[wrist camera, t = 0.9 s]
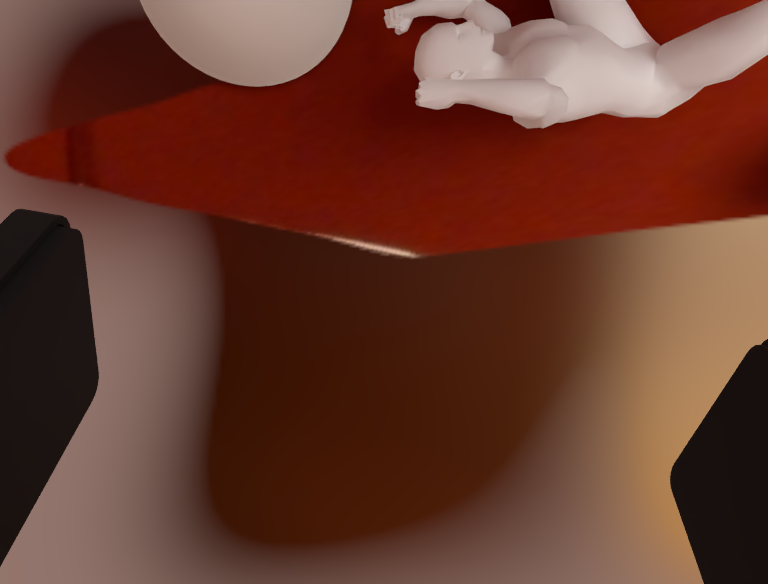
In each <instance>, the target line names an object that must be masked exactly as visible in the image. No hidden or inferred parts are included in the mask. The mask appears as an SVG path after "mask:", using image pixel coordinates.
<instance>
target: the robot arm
mask: <svg viewBox="0 0 768 584" xmlns="http://www.w3.org/2000/svg"><path fill="white" fill-rule="evenodd" d="M98 379H99V372H98V364H97V355H96V347H95V338H94V329H93V321H92V312H91V304H90V295H89V288H88V278H87V270H86V261H85V253H84V244H83V239H82V234H81V233H80V231H79V230H77V229H72V228H70V224H69V222H68V220H67V218H65V217H63V216H60V215H54V214H48V213H43V212H37V211H31V210H25V209H17V210H15V211H14V212H12V213H11V214H10V215H9V216H8V217H7V218H6V219H5V220H4V221H3V222H2V223H1V224H0V566H1V564H2V562H3V561H4V559H5V557H6V555H7V554H8V552H9V550H10V548H11V546H12V545H13V543H14V541H15V539H16V537H17V536H18V534H19V532H20V530H21V528H22V526H23V525H24V523H25V521H26V519H27V517H28V516H29V514H30V512H31V510H32V509H33V507H34V505H35V503H36V501H37V499H38V498H39V496H40V494H41V492H42V491H43V488H44V487H45V485H46V483H47V482H48V480H49V478H50V476H51V474H52V473H53V471H54V469H55V467H56V465H57V464H58V462H59V460H60V458H61V456H62V455H63V453H64V451H65V449H66V447H67V445H68V444H69V442H70V440H71V438H72V436H73V435H74V433H75V431H76V429H77V427H78V426H79V424H80V422H81V420H82V419H83V417H84V415H85V413H86V411H87V410H88V408H89V406H90V404H91V402H92V400H93V398H94V396H95V393H96V390H97V386H98ZM670 484H671V489H672V492H673V495H674V498H675V501H676V504H677V507H678V510H679V513H680V516H681V519H682V522H683V524H684V527H685V530H686V533H687V536H688V539H689V542H690V545H691V547H692V550H693V553H694V556H695V559H696V562H697V565H698V567H699V570H700V573H701V576H702V579H703V582H704V584H768V339H767V340H765V341H764V342H763V343H762V344H761V345H755V346H754V347H752V348H751V349H750V350H749V351H748V353H747V354H746V356H745V357H744V359H743V360H742V362H741V363H740V365H739V366H738V368H737V369H736V371H735V372H734V374H733V375H732V377H731V378H730V380H729V381H728V383H727V384H726V386H725V388H724V389H723V390H722V392H721V393H720V395H719V396H718V398H717V400H716V401H715V403H714V404H713V406H712V407H711V409H710V410H709V412H708V413H707V415H706V416H705V418H704V419H703V421H702V423H701V424H700V425H699V427H698V428H697V430H696V431H695V433H694V434H693V436H692V437H691V439H690V440H689V442H688V444H687V445H686V446H685V448H684V449H683V451H682V453H681V454H680V456H679V457H678V459H677V460H676V462H675V463H674V465H673V467H672V471H671V476H670Z"/></svg>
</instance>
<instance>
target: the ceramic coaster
mask: <svg viewBox="0 0 768 584" xmlns="http://www.w3.org/2000/svg"><path fill="white" fill-rule="evenodd" d="M352 1H353V0H140V2H141V4H142V6H143V9H144V11H145V13H146V14H147V16H148V18H149V20H150V22H151V23H152V25H153V26H154V28H155V29H156V31H157V32H158V33H159V35H160V36H161V37H162V38H163V40H164V41H165V42H166V43H167V44H168V45H169V46H170V47H171V48H172V49H173V50H174V51H175V52H176V53H177V54H178V55H179V56H180V57H182V58H183V59H184V60H185V61H187V62H188V63H189V64H191V65H192V66H193V67H195V68H197V69H198V70H200V71H202V72H204V73H205V74H208V75H210V76H212V77H214V78H217V79H219V80H222V81H225V82H228V83H232V84H237V85H243V86H256V87H260V86H272V85H276V84H281V83H285V82H288V81H290V80H293V79H296V78H298V77H299V76H301V75H303V74H305V73H307V72H308V71H310V70H311V69H312V68H314V67H315V66H316V65H318V64H319V63H320V62H321V61H322V60H323V59H324V58H325V57H326V56H327V55H328V53H329V52H330V51H331V49H332V48H333V47H334V45H335V44H336V42H337V40H338V39H339V37H340V35H341V33H342V31H343V29H344V26H345V23H346V21H347V18H348V16H349V13H350V9H351V5H352Z"/></svg>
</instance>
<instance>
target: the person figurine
mask: <svg viewBox="0 0 768 584" xmlns="http://www.w3.org/2000/svg"><path fill="white" fill-rule="evenodd" d="M549 1H550V4H551V7H552V11H553V14H554V17H555V19H552V18H551V19H540V20H530V21H528V22H525V23H522V24H519V25H516V26H513V27H511V23H510V19H509V18H508V17H507V16H506V15H505V14H504V13H503V12H502V11H501V10H500V9H498V8H496V7H495V6H493V5H491V4H490V3H488V2H486V1H485V0H416V1H414V2H411V3H408V4H404V5H401V6H396V7H394V8H392V9H387V10H384V11H385V16H384V20H385V23H386V26H387V28H395V33H396V34H397V35H400V34H402V33H404V32H406V31H408V29H409V27H410V25H411V22H412V20H413V18H416V17H419V16H438V17H443V18H447V19H455V18H464V19H466V20H467V22H464V23H462V24H459V25H455V24H454V23H452V22H449V23H439V24H436V25H434V26H433V27H432V28H430V29H429V30H428V31H426V32H425V33H424V34H422V36H421V38H420V41H419V43H418V46H417V48H416V51H415V60H414V72H415V73H416V75H417V77H418V79H419V80H420V82H419V86H418V89H417V90H416V98H417V100H416V101H415V102H416V105H418V106H422V107H426V108H431V109H436V110H439V109H445V108H449V107H451V106H452V105H453V104H455V103H461V104H471V105H474V106H478V107H481V108H485V109H488V110H492V111H495V112H499V113H502V114H507V115H511V116H513V120H514V121H515V122H517V123H518V124H520V125H522V126H524V127H525V128H527V129H528V128H539V127H540V128H542V129H543V128H545V127H548V126H550V125H552V124H555V123H563V122H568V121H572V120H577V119H580V118H584V117H588V116H592V115H595V114H599V113H605V114H610V115H614V116H619V117H647V118H658V117H660V116H662V115H664V114H666V113H667V112H668V111H670V110H672V109H673V108H675V107H677V106H679V105H680V104H682V103H684V102H685V101H687V100H689V99H690V98H692V97H693V96H694V95H695V94H696V93H698V92H699V91H700V90H701V89H702V88H703V87H705V86H708V85H711V84H715V83H719V82H723V81H726V80H730V79H732V78H734V77H735V76H737V75H738V74H740V73H741V72H743V71H744V70H746V69H747V68H749V67H750V66H752V65H753V64H755V63H756V62H758V61H759V60H760V59H762V58H763V57H765V56H766V55H768V0H763V1H761V2H758V3H756V4H754V5H752V6H749V7H747V8H745V9H742V10H740V11H737V12H735V13H732V14H729V15H726V16H723V17H721V18H718V19H716V20H714V21H712V22H710V23H708V24H706V25H703V26H701V27H699V28H697V29H695V30H693V31H690V32H688V33H686V34H684V35H682V36H680V37H677V38H675V39H673V40H671V41H669V42H667V43H665V44H663V45H662V46H660V45H659V44H658V43H656V42H655V41H654V40H653V38H652V37H651V36H650V35H649V34H648V33H647V32H646V31H645V30H644V28H643V27H642V25H641V24H640V22H639V21H638V19H637V18H636V16H635V15H634V13H633V12H632V10H631V8H630V7H629V5H628V4H627V2H626V1H625V0H549Z"/></svg>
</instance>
